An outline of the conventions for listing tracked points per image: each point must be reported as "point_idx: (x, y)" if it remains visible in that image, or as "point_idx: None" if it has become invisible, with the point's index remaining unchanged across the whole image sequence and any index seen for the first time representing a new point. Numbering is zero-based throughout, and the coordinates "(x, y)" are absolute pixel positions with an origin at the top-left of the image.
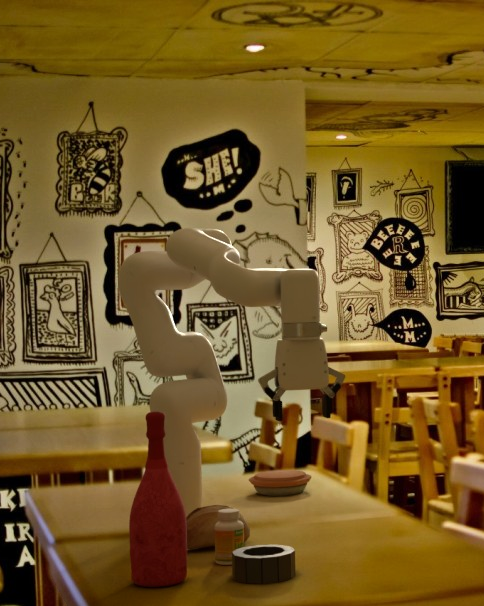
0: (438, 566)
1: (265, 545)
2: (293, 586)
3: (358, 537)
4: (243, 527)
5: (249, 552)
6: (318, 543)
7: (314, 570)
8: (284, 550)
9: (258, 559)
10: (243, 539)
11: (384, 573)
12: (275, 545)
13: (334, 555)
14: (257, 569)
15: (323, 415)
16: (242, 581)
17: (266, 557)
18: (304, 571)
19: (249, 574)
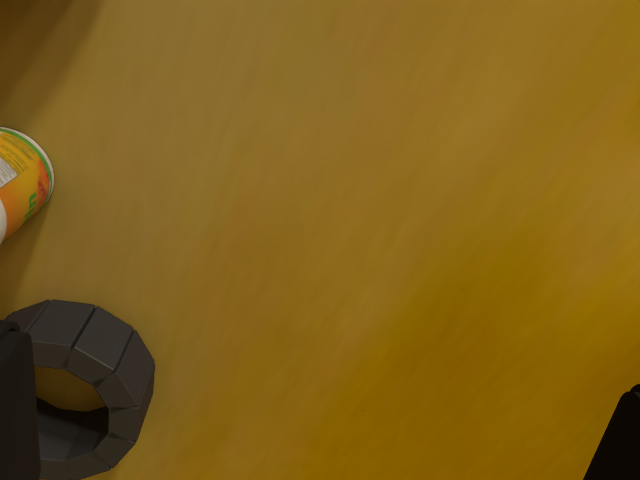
0: (480, 475)
1: (69, 358)
2: (117, 472)
3: (534, 55)
4: (3, 237)
5: None
6: (369, 65)
7: (213, 376)
8: (108, 431)
9: None
10: (21, 223)
11: (345, 471)
12: (98, 371)
13: (332, 257)
14: None
15: (624, 417)
16: None
17: (39, 478)
18: (186, 373)
19: None
